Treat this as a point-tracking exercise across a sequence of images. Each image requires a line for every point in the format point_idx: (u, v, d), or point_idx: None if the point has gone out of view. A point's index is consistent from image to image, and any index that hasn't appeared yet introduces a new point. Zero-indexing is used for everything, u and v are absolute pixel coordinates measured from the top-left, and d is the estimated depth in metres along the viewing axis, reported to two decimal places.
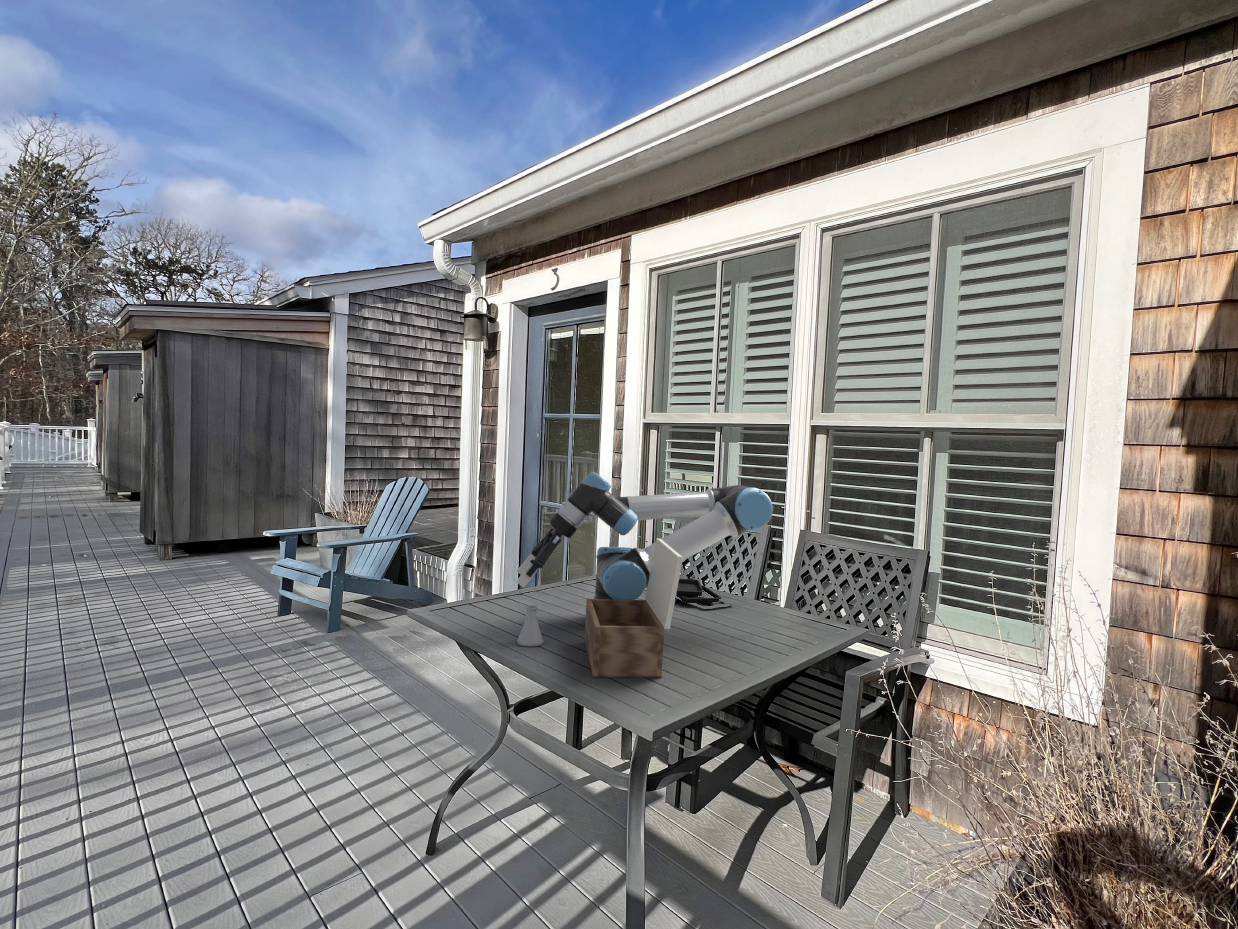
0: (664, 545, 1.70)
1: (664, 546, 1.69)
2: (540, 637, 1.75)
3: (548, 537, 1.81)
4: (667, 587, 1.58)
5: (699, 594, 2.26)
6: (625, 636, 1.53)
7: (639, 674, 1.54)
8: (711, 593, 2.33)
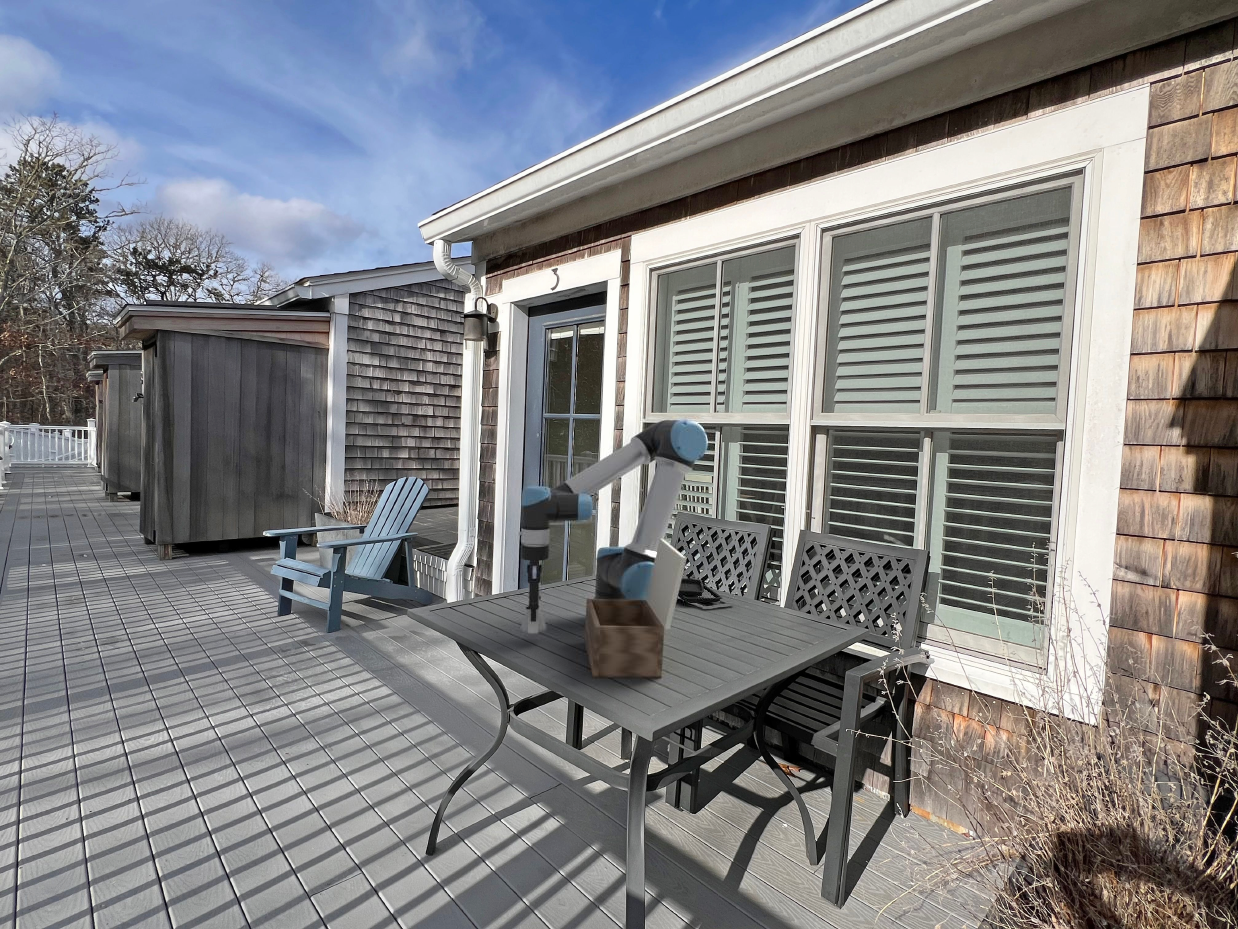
0: (667, 546, 1.70)
1: (667, 547, 1.69)
2: (543, 623, 1.75)
3: (528, 573, 1.73)
4: (669, 587, 1.58)
5: (700, 594, 2.26)
6: (625, 636, 1.53)
7: (639, 674, 1.54)
8: (712, 593, 2.33)
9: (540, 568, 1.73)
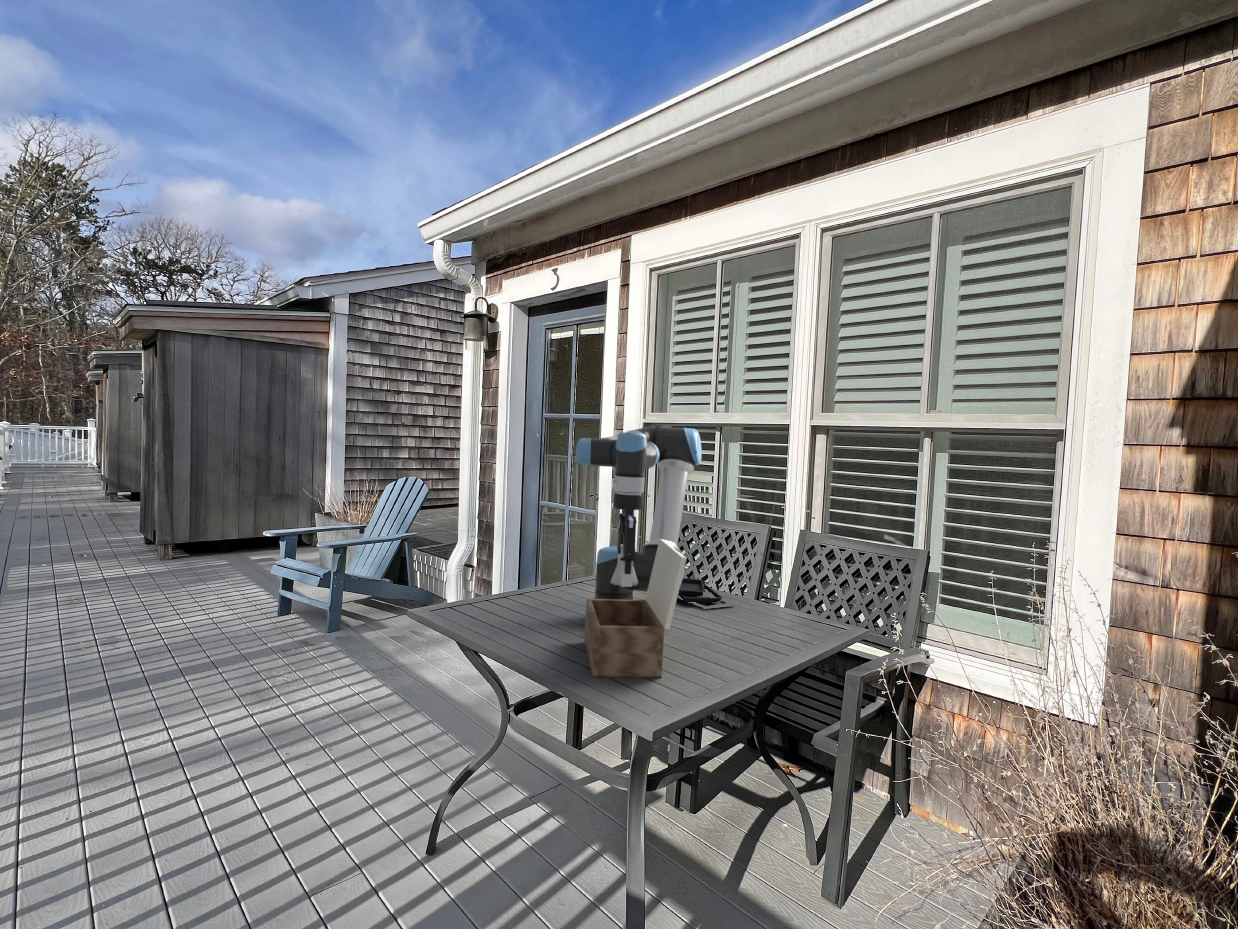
0: (667, 546, 1.70)
1: (667, 547, 1.69)
2: (635, 577, 1.65)
3: (622, 523, 1.63)
4: (669, 587, 1.58)
5: (700, 594, 2.26)
6: (625, 636, 1.53)
7: (639, 674, 1.54)
8: (713, 593, 2.34)
9: (634, 518, 1.64)
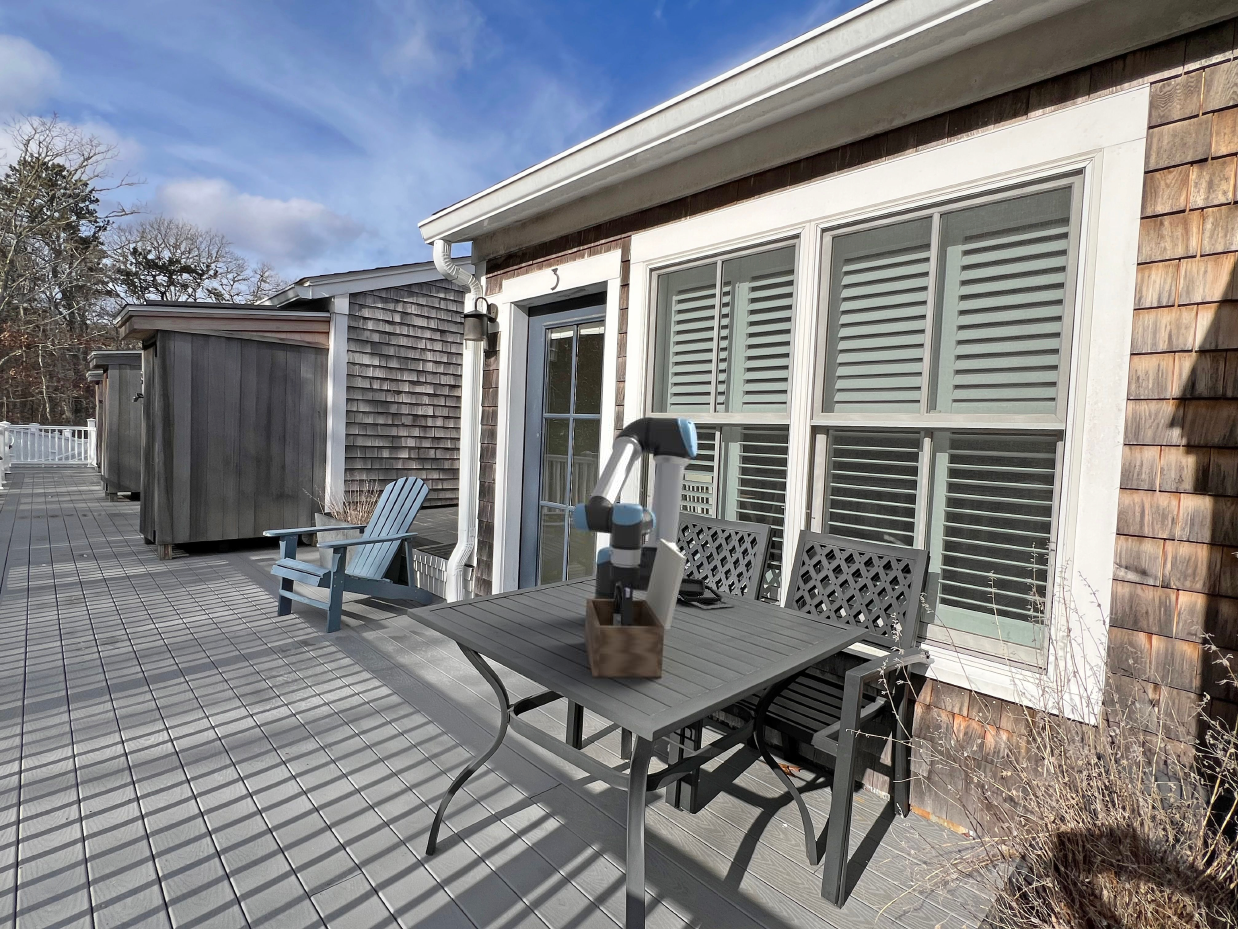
0: (667, 546, 1.70)
1: (667, 547, 1.69)
2: None
3: (619, 593, 1.63)
4: (669, 587, 1.58)
5: (701, 594, 2.26)
6: (625, 636, 1.53)
7: (639, 674, 1.54)
8: (714, 593, 2.34)
9: None
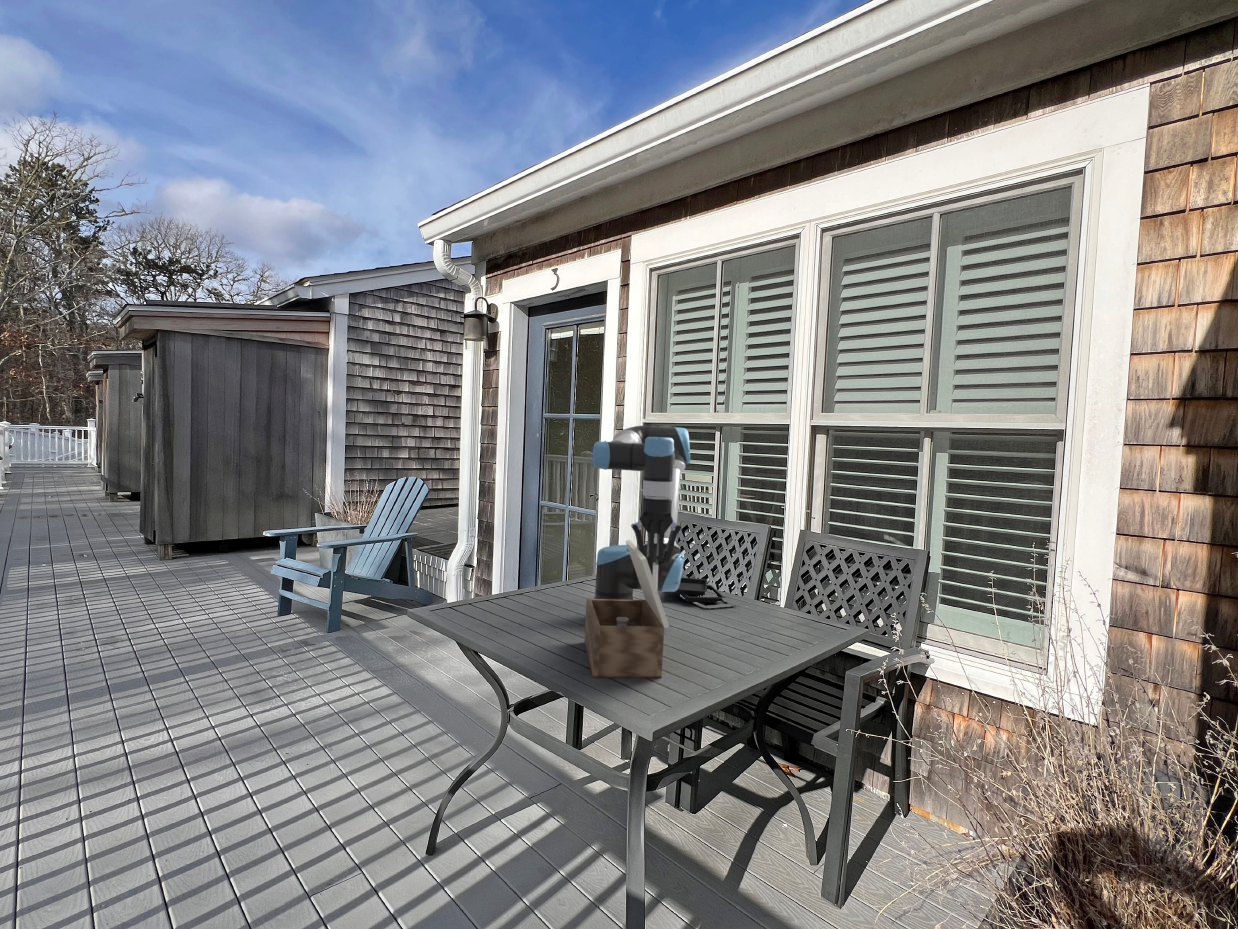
0: (631, 548, 1.68)
1: (631, 549, 1.68)
2: None
3: None
4: (649, 589, 1.58)
5: (702, 593, 2.27)
6: (625, 636, 1.53)
7: (639, 674, 1.54)
8: (716, 593, 2.34)
9: (650, 523, 1.65)
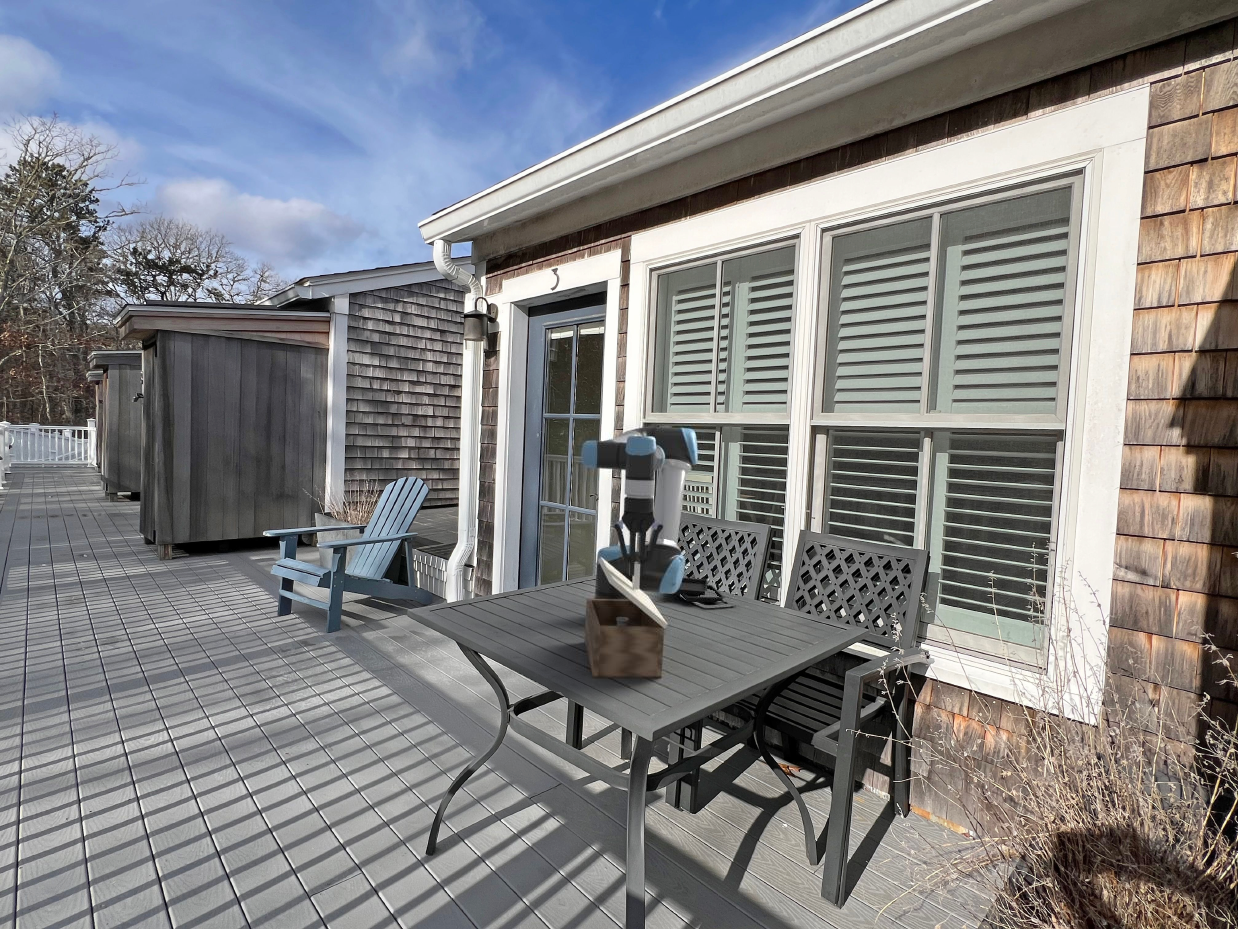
0: (602, 568, 1.68)
1: (603, 569, 1.68)
2: None
3: None
4: None
5: (702, 593, 2.27)
6: (625, 636, 1.53)
7: (639, 674, 1.54)
8: (717, 593, 2.34)
9: (631, 522, 1.64)
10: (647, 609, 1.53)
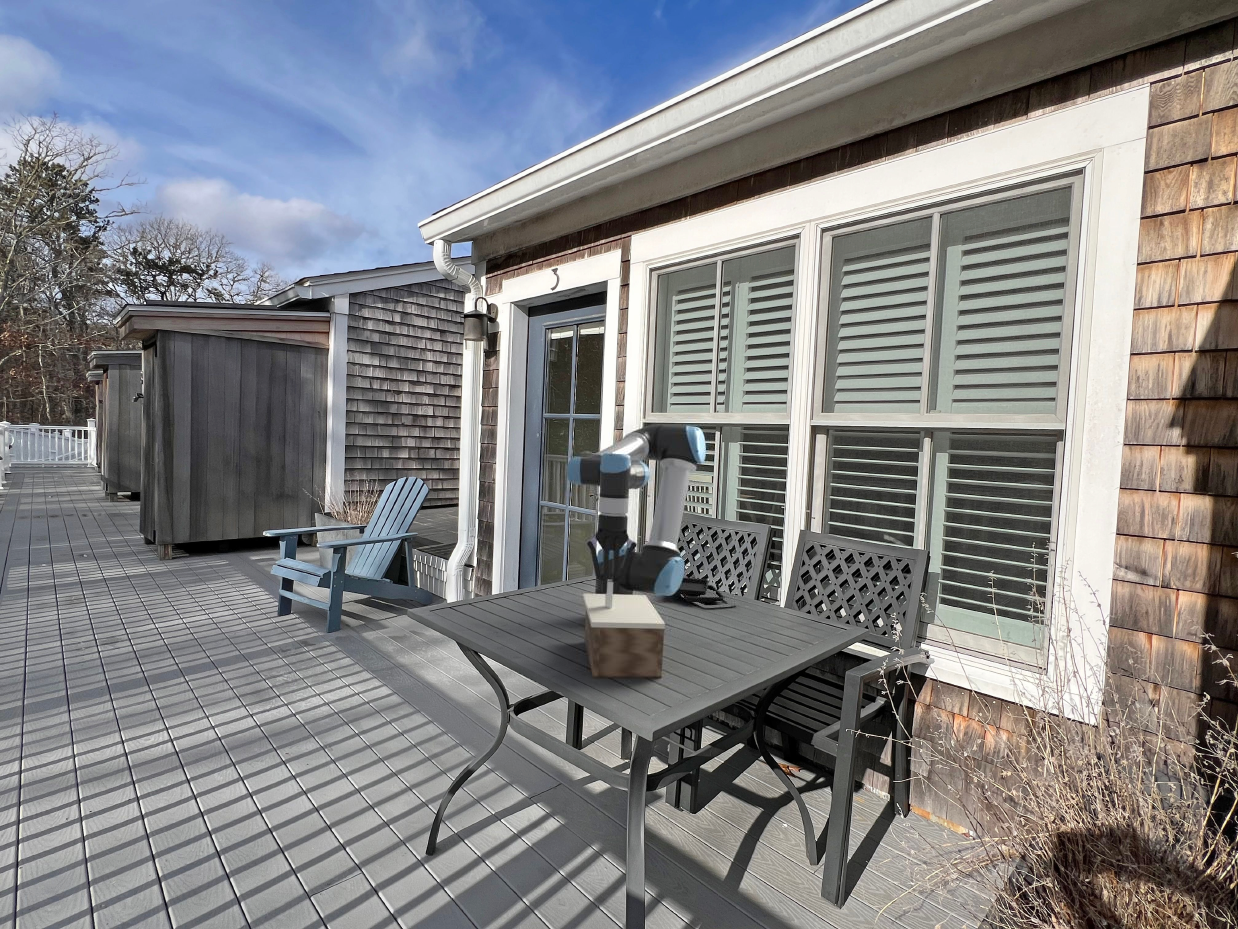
0: None
1: None
2: None
3: None
4: None
5: (702, 593, 2.27)
6: (625, 636, 1.53)
7: (639, 674, 1.54)
8: (717, 593, 2.34)
9: (605, 540, 1.63)
10: (638, 624, 1.53)
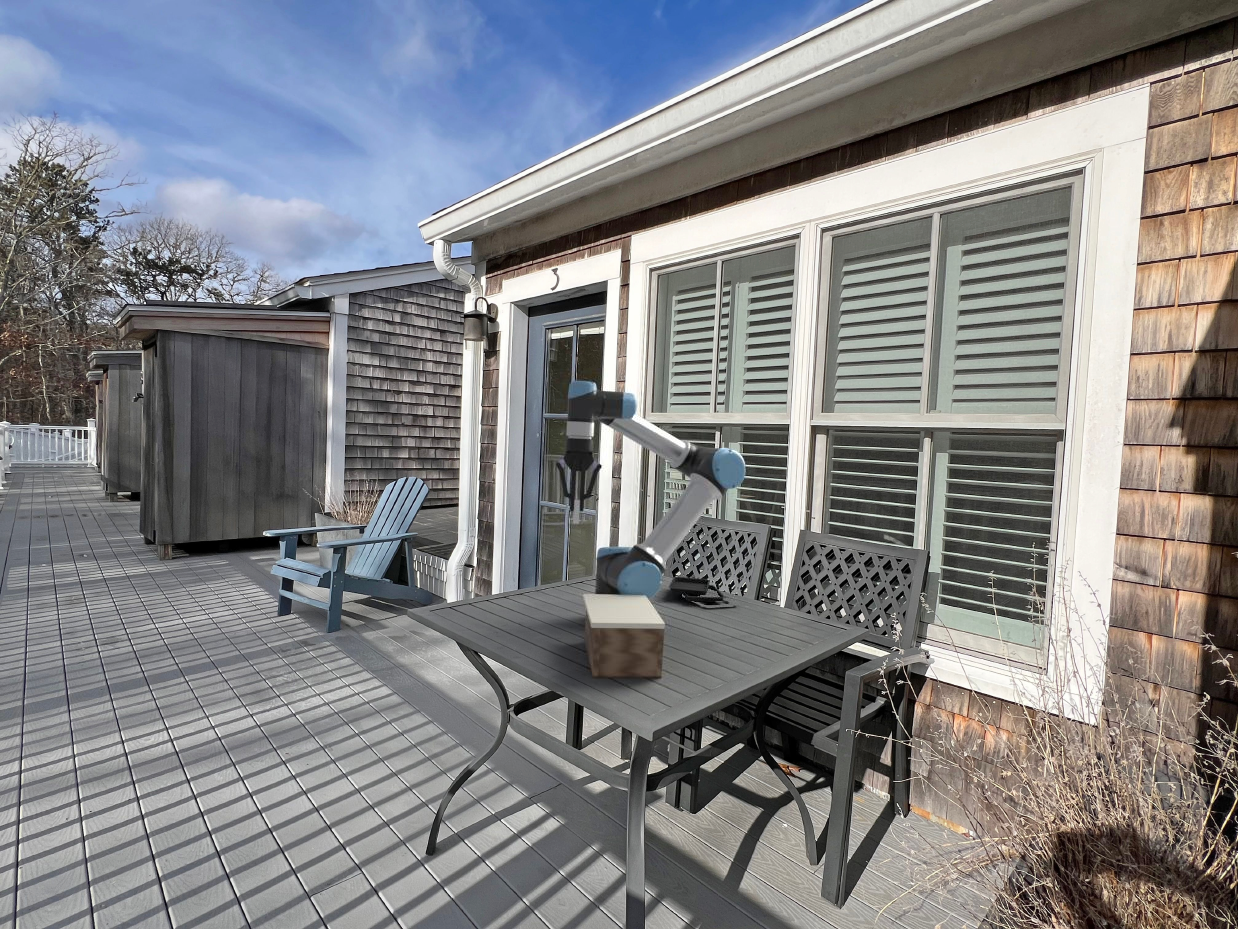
0: None
1: None
2: None
3: None
4: None
5: (703, 593, 2.27)
6: (625, 636, 1.53)
7: (639, 674, 1.54)
8: (718, 593, 2.34)
9: (572, 461, 1.77)
10: (638, 624, 1.53)
